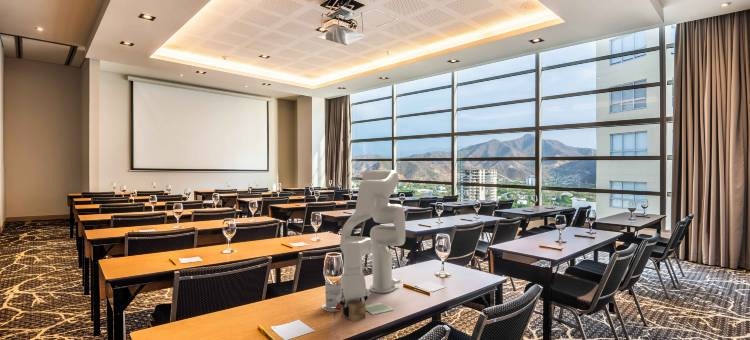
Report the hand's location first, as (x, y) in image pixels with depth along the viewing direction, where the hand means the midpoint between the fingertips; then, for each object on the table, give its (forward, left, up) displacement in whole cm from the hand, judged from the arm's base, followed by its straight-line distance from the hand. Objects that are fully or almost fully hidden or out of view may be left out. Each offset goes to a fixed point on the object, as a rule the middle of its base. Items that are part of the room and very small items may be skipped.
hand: (353, 313), depth 163 cm
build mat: (-12, -2, -1) cm, 12 cm away
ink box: (+2, -14, -1) cm, 14 cm away
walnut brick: (0, 0, -1) cm, 1 cm away
